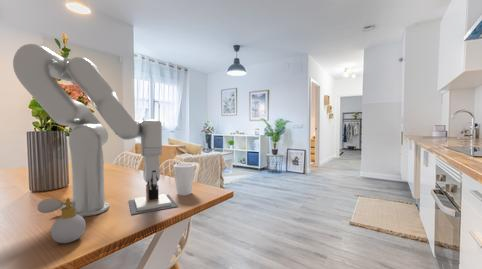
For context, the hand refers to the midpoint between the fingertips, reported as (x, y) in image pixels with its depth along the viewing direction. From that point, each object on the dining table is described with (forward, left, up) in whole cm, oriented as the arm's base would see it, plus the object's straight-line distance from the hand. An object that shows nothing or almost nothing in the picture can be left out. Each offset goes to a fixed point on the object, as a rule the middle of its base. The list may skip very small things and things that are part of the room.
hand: (152, 196), depth 89 cm
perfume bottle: (-25, -19, -3) cm, 32 cm away
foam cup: (+15, +8, -3) cm, 17 cm away
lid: (0, 0, -2) cm, 2 cm away
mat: (0, 0, -3) cm, 3 cm away
